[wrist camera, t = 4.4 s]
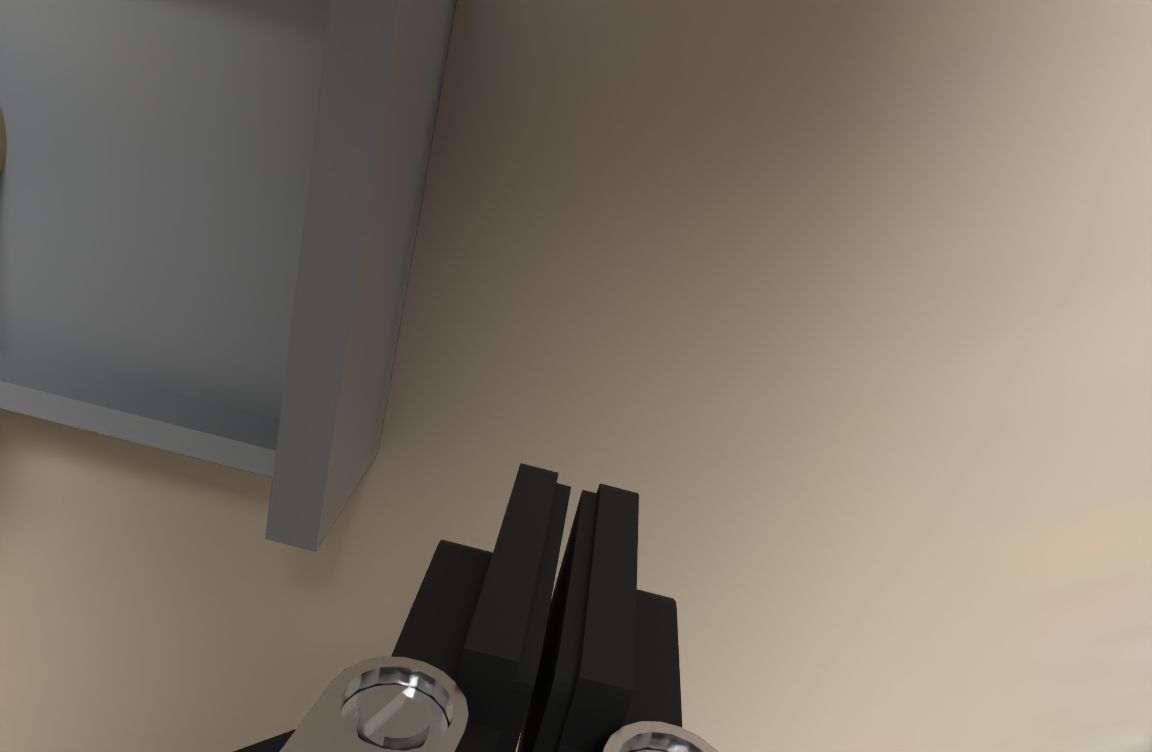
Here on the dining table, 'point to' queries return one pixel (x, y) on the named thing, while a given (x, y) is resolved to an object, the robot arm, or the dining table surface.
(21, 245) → the tray
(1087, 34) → the dining table surface
